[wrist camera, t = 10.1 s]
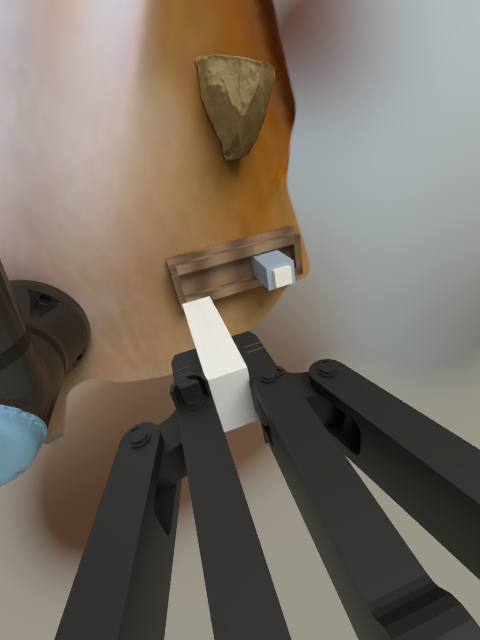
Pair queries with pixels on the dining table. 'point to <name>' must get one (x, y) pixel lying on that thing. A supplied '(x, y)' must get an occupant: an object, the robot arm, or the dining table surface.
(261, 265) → the rider
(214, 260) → the wooden tray
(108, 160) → the dining table surface
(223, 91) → the rock
